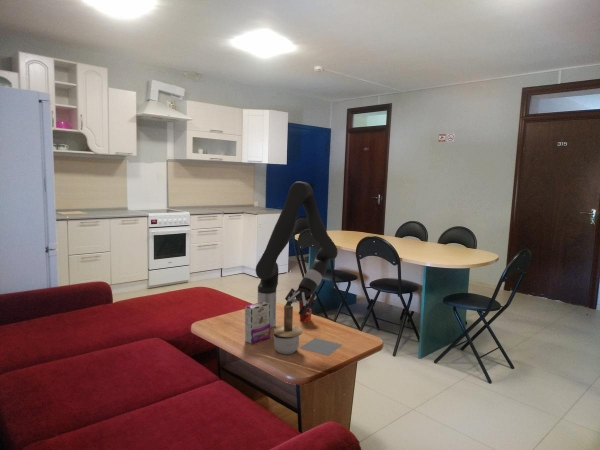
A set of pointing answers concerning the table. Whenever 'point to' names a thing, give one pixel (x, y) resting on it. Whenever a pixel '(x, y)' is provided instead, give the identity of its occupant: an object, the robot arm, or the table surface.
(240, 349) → the table surface
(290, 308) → the oak lid
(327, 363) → the table surface
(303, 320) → the paper cup
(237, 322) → the table surface
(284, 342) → the teacup
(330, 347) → the rubber mat
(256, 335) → the candy bar box
